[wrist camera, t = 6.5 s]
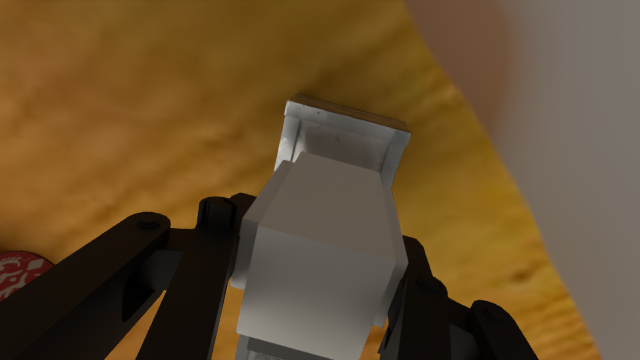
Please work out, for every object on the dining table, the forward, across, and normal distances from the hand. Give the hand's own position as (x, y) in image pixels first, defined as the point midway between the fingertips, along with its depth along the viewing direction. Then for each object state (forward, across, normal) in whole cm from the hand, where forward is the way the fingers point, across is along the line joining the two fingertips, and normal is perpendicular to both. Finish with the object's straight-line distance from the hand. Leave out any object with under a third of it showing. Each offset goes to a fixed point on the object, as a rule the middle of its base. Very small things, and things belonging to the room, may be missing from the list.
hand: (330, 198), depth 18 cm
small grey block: (0, 0, 0) cm, 0 cm away
